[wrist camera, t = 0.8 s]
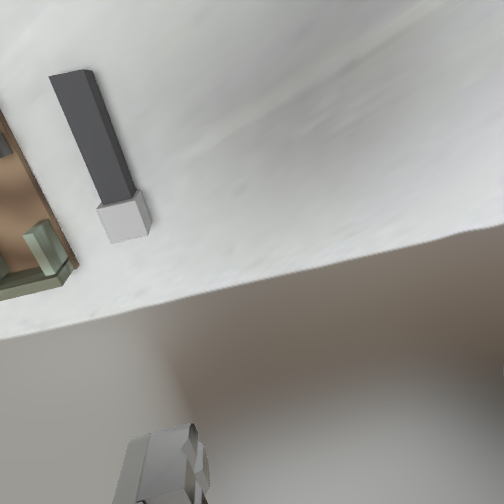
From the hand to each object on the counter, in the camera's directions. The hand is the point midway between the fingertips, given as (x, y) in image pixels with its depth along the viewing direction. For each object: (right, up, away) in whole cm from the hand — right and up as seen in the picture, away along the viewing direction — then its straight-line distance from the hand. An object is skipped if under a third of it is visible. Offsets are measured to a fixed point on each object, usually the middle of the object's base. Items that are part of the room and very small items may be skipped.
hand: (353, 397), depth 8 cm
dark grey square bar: (-18, +15, +26) cm, 35 cm away
